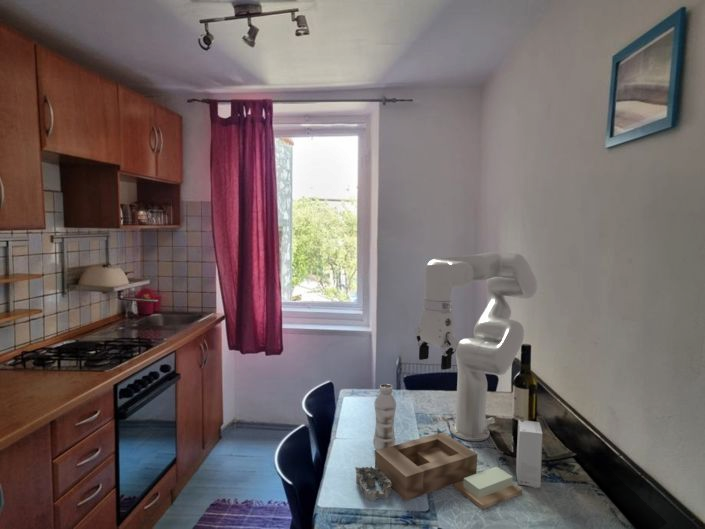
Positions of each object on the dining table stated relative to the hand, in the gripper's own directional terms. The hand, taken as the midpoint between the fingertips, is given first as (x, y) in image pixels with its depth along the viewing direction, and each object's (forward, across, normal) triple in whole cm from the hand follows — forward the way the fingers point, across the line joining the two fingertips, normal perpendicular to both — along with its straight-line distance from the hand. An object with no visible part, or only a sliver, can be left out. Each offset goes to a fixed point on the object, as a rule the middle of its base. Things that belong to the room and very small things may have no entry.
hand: (434, 363), depth 127 cm
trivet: (+28, -20, -2) cm, 34 cm away
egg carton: (+29, -5, +24) cm, 37 cm away
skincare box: (+28, -21, -16) cm, 39 cm away
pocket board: (+28, -7, +7) cm, 30 cm away
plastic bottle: (+28, +10, +10) cm, 32 cm away
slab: (+27, -20, -3) cm, 34 cm away
